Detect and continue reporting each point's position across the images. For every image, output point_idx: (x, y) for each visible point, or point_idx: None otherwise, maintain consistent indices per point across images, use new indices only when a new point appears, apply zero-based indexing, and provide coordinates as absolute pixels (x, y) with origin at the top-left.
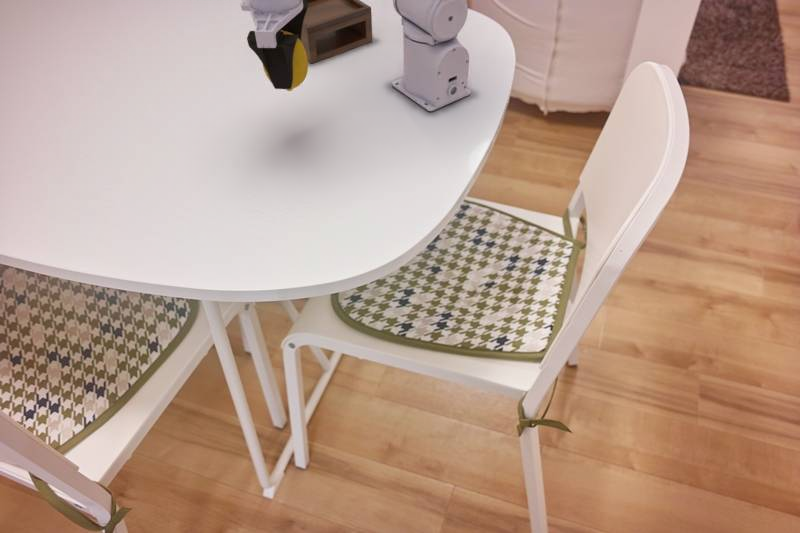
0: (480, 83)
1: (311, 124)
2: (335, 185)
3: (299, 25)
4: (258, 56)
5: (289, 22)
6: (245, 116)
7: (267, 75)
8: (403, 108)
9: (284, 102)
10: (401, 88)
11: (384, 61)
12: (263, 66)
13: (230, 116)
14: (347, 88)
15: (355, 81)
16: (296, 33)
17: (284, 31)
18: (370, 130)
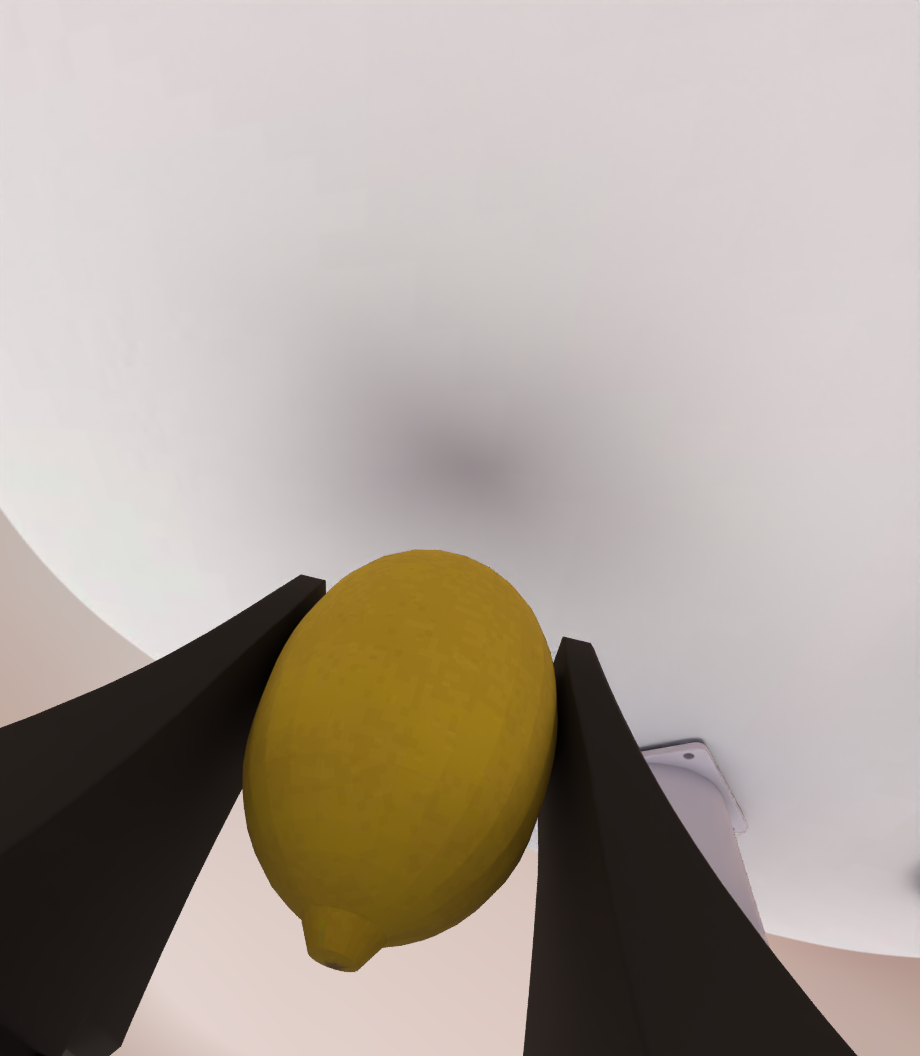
0: None
1: (553, 523)
2: (267, 550)
3: (531, 995)
4: (23, 721)
5: (552, 1006)
6: (687, 264)
7: (354, 574)
8: None
9: (740, 442)
10: (658, 758)
11: (865, 756)
12: (363, 591)
13: (716, 175)
14: (742, 645)
15: (777, 671)
16: (543, 901)
17: (398, 943)
18: None
